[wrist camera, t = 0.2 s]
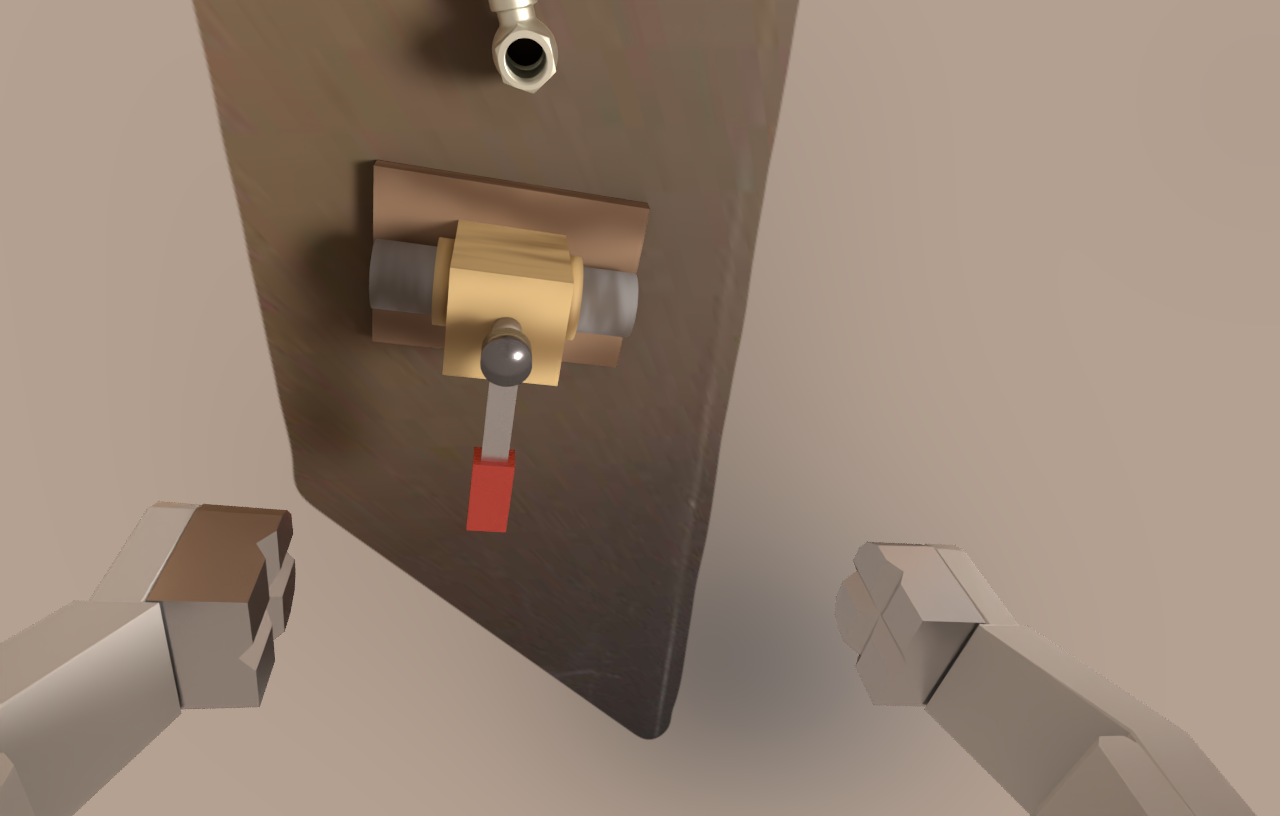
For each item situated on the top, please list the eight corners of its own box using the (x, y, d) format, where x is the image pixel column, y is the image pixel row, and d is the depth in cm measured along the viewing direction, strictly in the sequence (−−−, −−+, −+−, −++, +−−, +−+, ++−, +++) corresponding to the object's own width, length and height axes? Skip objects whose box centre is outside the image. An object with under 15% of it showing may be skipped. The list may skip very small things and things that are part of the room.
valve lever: (483, 324, 46) (482, 339, 44) (534, 330, 47) (535, 345, 45) (465, 511, 54) (463, 530, 52) (508, 513, 55) (508, 532, 53)
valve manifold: (376, 159, 52) (342, 220, 41) (647, 203, 57) (677, 267, 46) (375, 332, 59) (345, 421, 49) (614, 358, 64) (634, 444, 53)
